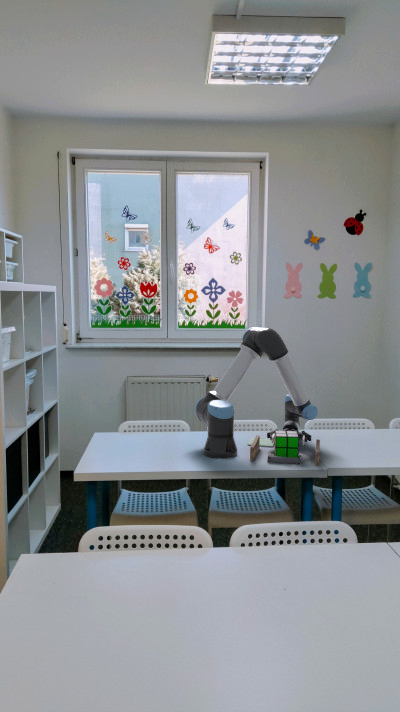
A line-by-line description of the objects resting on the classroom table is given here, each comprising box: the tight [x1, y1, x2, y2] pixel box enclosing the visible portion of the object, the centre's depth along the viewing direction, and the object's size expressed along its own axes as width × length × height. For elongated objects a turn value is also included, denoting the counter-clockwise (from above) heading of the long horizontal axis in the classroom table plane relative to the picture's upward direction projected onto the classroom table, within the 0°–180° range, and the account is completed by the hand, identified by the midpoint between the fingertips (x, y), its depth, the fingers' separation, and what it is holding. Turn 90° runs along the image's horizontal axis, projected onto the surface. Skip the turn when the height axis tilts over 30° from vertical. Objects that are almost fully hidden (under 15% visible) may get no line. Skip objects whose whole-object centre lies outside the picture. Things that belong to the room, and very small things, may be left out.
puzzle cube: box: [273, 430, 300, 458], centre depth 223 cm, size 10×10×10 cm
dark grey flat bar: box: [266, 452, 302, 466], centre depth 215 cm, size 14×6×2 cm, turn 76°
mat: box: [247, 437, 275, 448], centre depth 244 cm, size 12×12×1 cm
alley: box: [249, 435, 321, 467], centre depth 222 cm, size 29×20×6 cm
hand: (287, 441), depth 223 cm, fingers open, 13 cm apart
